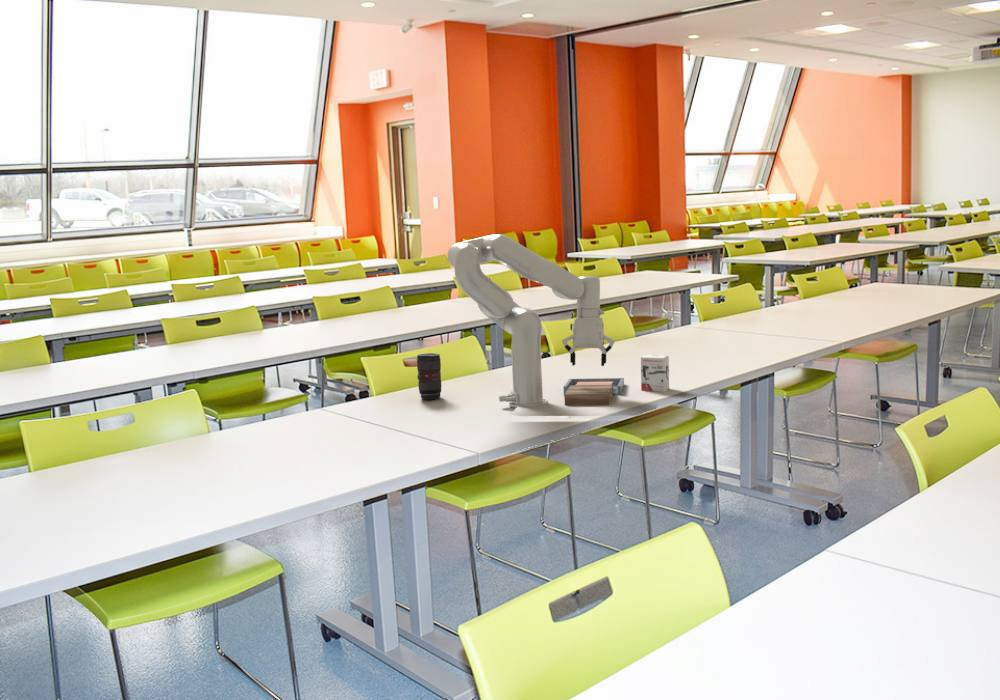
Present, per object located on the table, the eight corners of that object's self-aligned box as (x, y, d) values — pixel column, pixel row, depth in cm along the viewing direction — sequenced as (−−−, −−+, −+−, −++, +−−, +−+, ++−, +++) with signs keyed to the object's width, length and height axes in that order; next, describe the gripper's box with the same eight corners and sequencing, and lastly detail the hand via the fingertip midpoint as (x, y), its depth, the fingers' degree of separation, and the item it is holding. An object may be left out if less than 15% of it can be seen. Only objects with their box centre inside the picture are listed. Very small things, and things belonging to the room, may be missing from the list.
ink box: (640, 391, 302) (639, 356, 300) (645, 388, 306) (644, 354, 304) (665, 392, 297) (664, 357, 296) (669, 389, 302) (669, 355, 300)
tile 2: (612, 381, 305) (613, 388, 305) (577, 381, 308) (578, 389, 308) (611, 383, 301) (612, 390, 302) (576, 383, 304) (576, 391, 304)
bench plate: (609, 404, 282) (608, 393, 281) (564, 405, 285) (564, 394, 284) (613, 395, 297) (612, 384, 297) (571, 395, 300) (570, 385, 300)
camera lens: (439, 399, 305) (436, 355, 303) (416, 399, 307) (413, 356, 305) (445, 395, 313) (442, 352, 311) (423, 395, 314) (420, 353, 312)
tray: (620, 394, 297) (620, 386, 296) (563, 395, 301) (563, 386, 300) (624, 386, 312) (623, 377, 312) (569, 387, 316) (569, 378, 316)
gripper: (615, 312, 296) (615, 364, 298) (563, 312, 300) (563, 363, 302) (613, 314, 289) (613, 367, 291) (560, 314, 293) (560, 366, 295)
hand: (588, 365), depth 297 cm, fingers open, 9 cm apart
